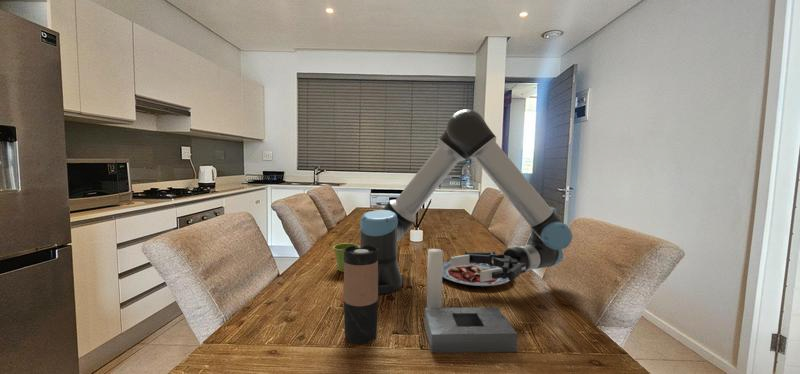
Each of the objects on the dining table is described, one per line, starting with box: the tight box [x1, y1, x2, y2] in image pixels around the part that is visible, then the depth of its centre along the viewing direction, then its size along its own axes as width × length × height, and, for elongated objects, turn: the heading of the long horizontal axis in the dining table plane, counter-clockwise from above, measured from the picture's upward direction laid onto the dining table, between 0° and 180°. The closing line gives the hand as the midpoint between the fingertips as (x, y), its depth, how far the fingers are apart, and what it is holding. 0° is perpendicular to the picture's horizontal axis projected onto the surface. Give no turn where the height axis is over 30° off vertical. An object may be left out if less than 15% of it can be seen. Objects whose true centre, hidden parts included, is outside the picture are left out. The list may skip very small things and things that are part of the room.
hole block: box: [423, 306, 518, 354], centre depth 72 cm, size 18×12×4 cm, turn 92°
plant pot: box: [332, 243, 360, 273], centre depth 115 cm, size 9×9×9 cm
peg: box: [426, 248, 444, 308], centre depth 85 cm, size 4×4×16 cm
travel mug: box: [343, 245, 379, 345], centre depth 71 cm, size 8×8×20 cm
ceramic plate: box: [442, 260, 510, 287], centre depth 111 cm, size 26×26×3 cm
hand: (464, 268), depth 89 cm, fingers open, 13 cm apart
